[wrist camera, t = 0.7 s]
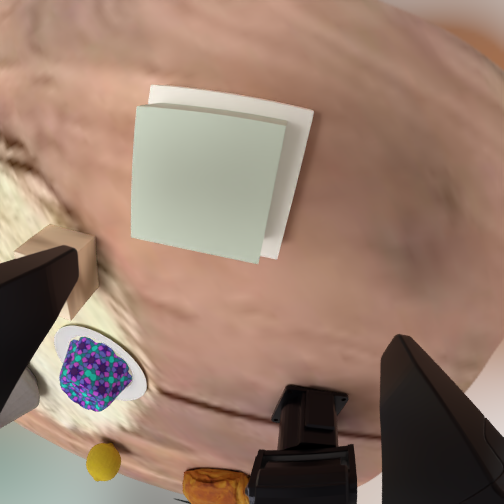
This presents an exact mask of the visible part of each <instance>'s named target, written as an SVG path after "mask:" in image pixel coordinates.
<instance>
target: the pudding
mask: <svg viewBox="0 0 504 504" xmlns="http://www.w3.org/2000/svg"><path fill="white" fill-rule="evenodd" d="M76 336H87V337H91V338H94V339H97V340H99V341H101V342H103V343H105V344H106V345H105V344H103V343H95V342H94V341H93V340H91V339H90V338H87V337H80V340H79V341H77V340H72V341H71V342H70V345H69V348H68V343H69V341H70V340H71V339H72V338H73V337H76ZM54 345H55V349H56V352H57V355H58V356H59V358H60V360H61V362H62V363H63V366H62V369H61V372H60V386H61V388H62V390H63V391H64V392H65V393H66V394H67V395H68V397H69V398H70V399H71V400H72V401H74V402H76V403H78V404H79V405H80V406H82V407H83V408H85V409H88V410H89V409H91V410H93V411H97V412H99V411H102V410H104V409H105V408H107V407H108V406H109V405H110V404H111V403H112V402H113V401H114V400H115V399H117V400H124V401H126V400H135V399H138V398H140V397H141V396H143V395H144V393H145V391H146V388H147V383H146V378H145V376H144V373H143V372H142V370H141V368H140V367H139V365H138V364H137V363H136V361H135V360H134V359H133V358H132V357H131V356H130V355H129V354H128V353H127V352H126V351H125V350H124V349H122V348H121V347H120V346H119V345H117V344H116V343H115V342H113V341H112V340H110V339H109V338H107V337H105V336H103V335H102V334H100V333H97V332H95V331H93V330H91V329H87V328H84V327H80V326H65V327H62V328H61V329H59V330H58V331H57V332H56V334H55V337H54ZM107 345H108V346H109V347H108V346H107ZM110 347H111V348H112V349H114V350H115V351H116V352H117V353H118V354H119V355H120V356H121V357H122V358H123V359H124V360H125V361H126V362H127V363H126V362H125V361H124V360H123V359H122V358H120V357H118V356H116V355H115V353H114V351H113V350H112V349H111V348H110ZM127 364H128V365H129V367H130V369H131V371H132V374H133V381H132V376H131V375H130V374H129V373H128V372H127V371H128V369H129V367H128V365H127ZM131 381H132V383H131V384H130V385H129V386H128V384H129V383H130V382H131ZM127 386H128V387H127Z"/></svg>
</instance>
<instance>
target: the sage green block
mask: <svg viewBox="0 0 504 504" xmlns="http://www.w3.org/2000/svg"><path fill="white" fill-rule="evenodd" d="M286 125H287V120H282V119H277V118H272V117H266V116H261V115H255V114H249V113H243V112H236V111H230V110H223V109H216V108H208V107H200V106H191V105H181V104H171V103H155V104H148V105H141V106H137V110H136V120H135V132H134V146H133V163H132V189H131V237H132V238H137V239H141V240H146V241H150V242H155V243H160V244H164V245H169V246H174V247H178V248H183V249H188V250H192V251H197V252H202V253H207V254H211V255H216V256H221V257H226V258H231V259H235V260H240V261H245V262H250V263H255V264H258V263H259V258H260V253H261V249H262V244H263V239H264V234H265V229H266V224H267V219H268V214H269V210H270V205H271V200H272V195H273V190H274V185H275V180H276V175H277V170H278V165H279V160H280V155H281V150H282V145H283V140H284V135H285V130H286Z"/></svg>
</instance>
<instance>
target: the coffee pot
mask: <svg viewBox="0 0 504 504" xmlns="http://www.w3.org/2000/svg"><path fill="white" fill-rule="evenodd" d="M39 401H40V395H39V389H38V386H37V380H36V378H35V376H34V375H33V373H32V372H31V371H30V369H29V368H28V367H26V369H25V370H24V372H23V374H22V375H21V377H20V379H19V381H18V382H17V384H16V386H15V388H14V389H13V391H12V393H11V395H10V397H9V398H8V400H7V402H6V404H5V406H4V408H3V410H2V412H1V413H0V428H2V427H3V426H5V425H7V424H8V423H10V422H12V421H14V420H16V419H17V418H19V417H21V416H22V415H24V414H26V413H28V412H29V411H31V410H33V409H34V408H36V407H37V406H38V404H39Z"/></svg>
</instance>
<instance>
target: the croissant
mask: <svg viewBox="0 0 504 504" xmlns="http://www.w3.org/2000/svg"><path fill="white" fill-rule="evenodd" d="M249 479H250V477H248V476H247V475H246V474H245V473H242V472H233V471H229V470H222V469H209V468H201V469H195V470H192V471H191V470H189V471H186V472H184V480H183V483H182V484H183V493H184V495H185V497H186V498H187V499H188V501H189V502H190V503H191V504H249V497H248V496H247V495H246V494H245V488H246V486H247V484H248V482H249Z"/></svg>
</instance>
